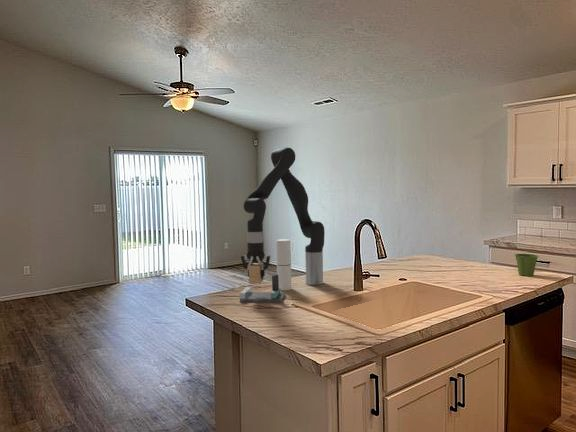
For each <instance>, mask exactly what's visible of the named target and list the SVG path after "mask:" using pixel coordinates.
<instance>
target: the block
mask: <svg viewBox="0 0 576 432" xmlns="http://www.w3.org/2000/svg"><path fill="white" fill-rule="evenodd" d="M263 281H264V277H263V278H261V265H259V263H253V264H252V265H249V276H248V283H249V284H261V283H262V282H263Z"/></svg>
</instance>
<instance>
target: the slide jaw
mask: <svg viewBox="0 0 576 432" xmlns="http://www.w3.org/2000/svg"><path fill="white" fill-rule="evenodd" d="M271 285H272V287H271V292H270V294H271V298H277V296H278V295H279V294H280V293H281V290H280V287H279V276H278V275H277V273H276V274H272V275H271Z"/></svg>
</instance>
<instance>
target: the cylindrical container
mask: <svg viewBox="0 0 576 432" xmlns="http://www.w3.org/2000/svg"><path fill="white" fill-rule="evenodd" d="M275 241H276V244H275V245H276V246H275V247H276V274H277V275H278V276H279V287H280V291H291V289H292V253H291V251H292V250H291V246H292V245H291V244H292V243H291V239H290V238H289V239H288V238H279V239H276V240H275Z"/></svg>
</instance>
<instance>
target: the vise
mask: <svg viewBox="0 0 576 432" xmlns="http://www.w3.org/2000/svg"><path fill="white" fill-rule="evenodd" d="M252 289H253V288H252V286H245V287H244V289H243V290H242V291H240V292H239V302H240V303H270V304H271V303H274V304H275V303H277V304H281V303H282V302H283V300H285V298H286V293H285V292H280V294H279V295H278V296H277V298H271V294H270V293H271V292H270V291H269V292H268V291H265V292H262V291H258V292H257V291H252Z"/></svg>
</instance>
